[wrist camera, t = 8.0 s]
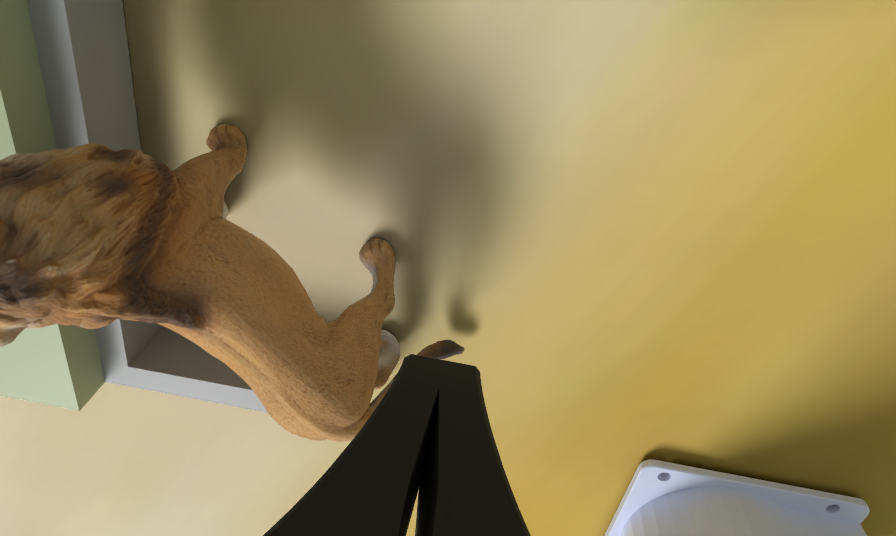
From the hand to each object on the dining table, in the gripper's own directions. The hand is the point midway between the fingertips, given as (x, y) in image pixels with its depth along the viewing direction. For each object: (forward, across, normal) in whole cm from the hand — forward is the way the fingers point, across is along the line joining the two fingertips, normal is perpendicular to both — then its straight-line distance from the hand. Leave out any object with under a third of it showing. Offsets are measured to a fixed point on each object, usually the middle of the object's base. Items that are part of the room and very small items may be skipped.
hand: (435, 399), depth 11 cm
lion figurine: (+10, +6, +3) cm, 12 cm away
